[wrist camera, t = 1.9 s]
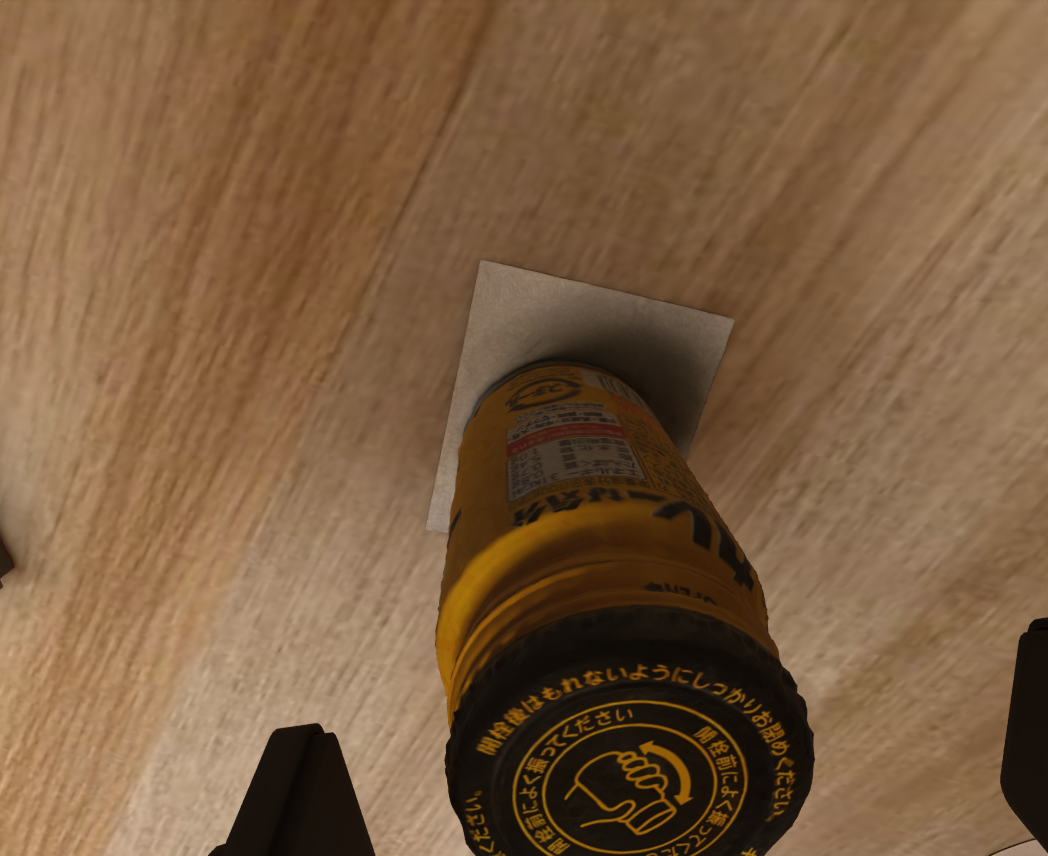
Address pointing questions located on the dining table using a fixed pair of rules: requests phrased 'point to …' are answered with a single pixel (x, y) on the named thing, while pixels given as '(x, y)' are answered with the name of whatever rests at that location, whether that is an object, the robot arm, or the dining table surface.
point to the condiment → (601, 591)
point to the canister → (1024, 850)
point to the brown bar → (4, 563)
